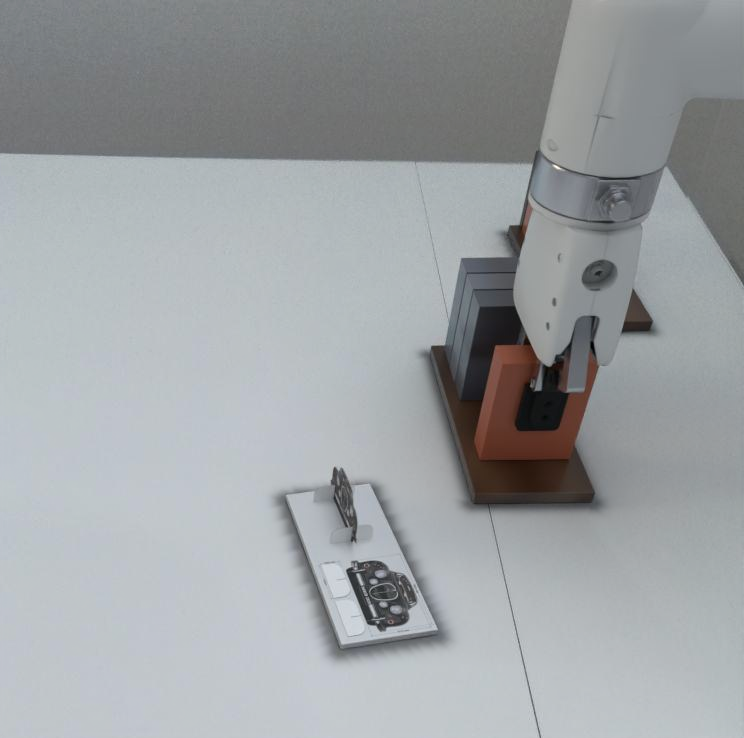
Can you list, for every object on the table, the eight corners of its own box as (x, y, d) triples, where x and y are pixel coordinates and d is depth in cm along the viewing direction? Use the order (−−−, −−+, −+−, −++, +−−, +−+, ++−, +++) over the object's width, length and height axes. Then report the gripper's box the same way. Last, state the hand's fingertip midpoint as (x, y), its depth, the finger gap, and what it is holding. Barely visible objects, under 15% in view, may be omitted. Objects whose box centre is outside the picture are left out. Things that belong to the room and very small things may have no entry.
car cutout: (285, 499, 75) (288, 453, 72) (369, 487, 75) (375, 442, 72) (340, 649, 64) (346, 603, 61) (437, 634, 65) (448, 588, 62)
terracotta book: (561, 440, 78) (591, 343, 71) (569, 459, 76) (601, 362, 70) (473, 441, 78) (495, 345, 71) (479, 460, 76) (502, 363, 70)
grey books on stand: (529, 353, 88) (555, 251, 81) (592, 502, 74) (630, 394, 67) (429, 354, 88) (447, 252, 81) (472, 503, 74) (498, 396, 67)
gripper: (700, 242, 56) (611, 485, 69) (615, 129, 67) (553, 355, 80) (568, 244, 56) (504, 486, 69) (506, 131, 67) (461, 356, 80)
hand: (531, 413), depth 74 cm, fingers closed on terracotta book, 2 cm apart
